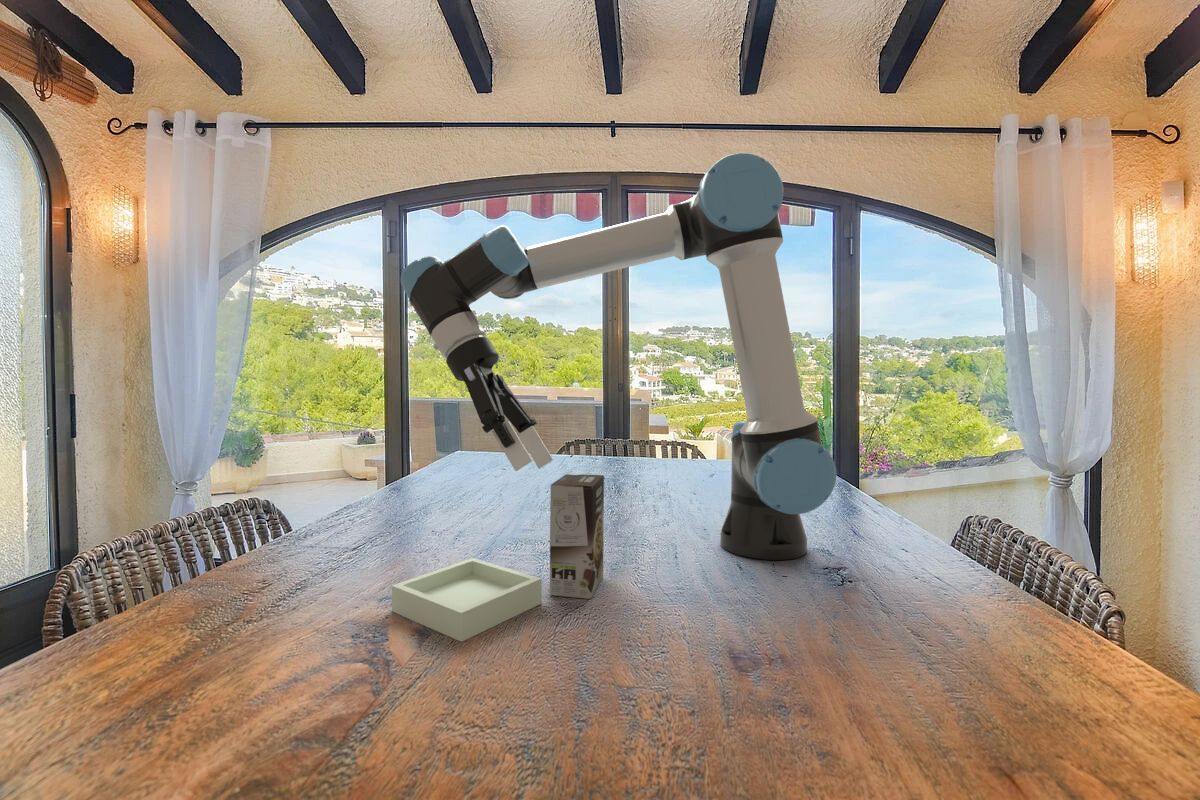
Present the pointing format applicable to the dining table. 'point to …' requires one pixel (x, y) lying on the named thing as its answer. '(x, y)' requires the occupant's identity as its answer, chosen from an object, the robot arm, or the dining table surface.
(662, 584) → the dining table surface
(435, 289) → the robot arm
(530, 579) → the tray
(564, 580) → the coffee box
